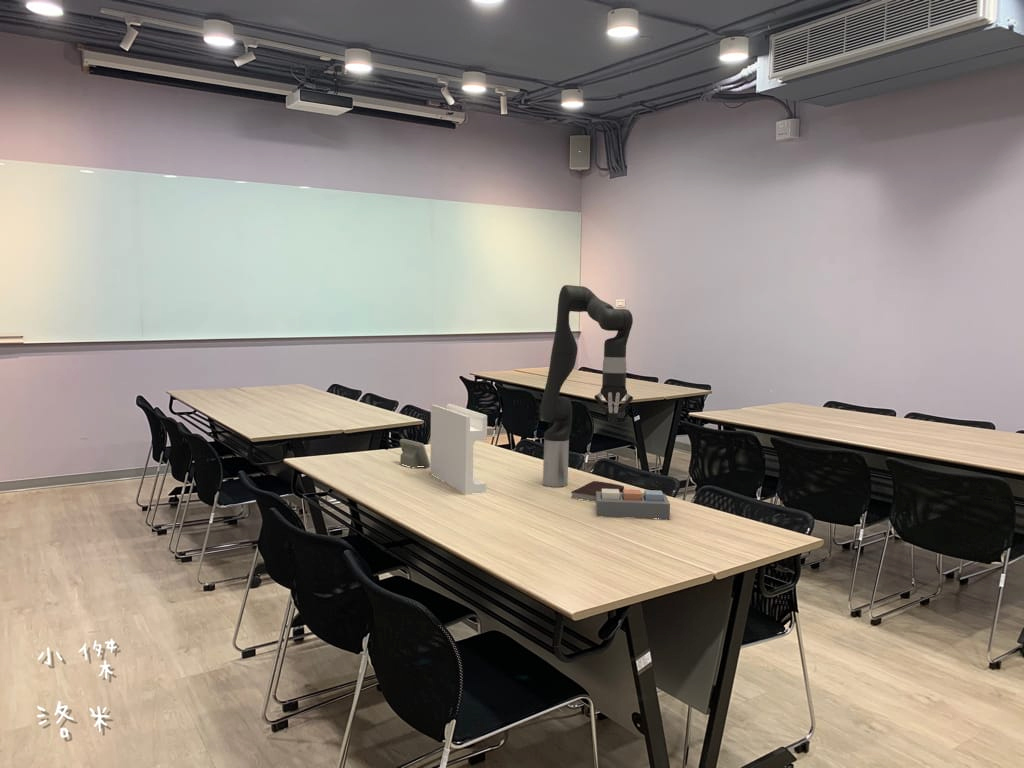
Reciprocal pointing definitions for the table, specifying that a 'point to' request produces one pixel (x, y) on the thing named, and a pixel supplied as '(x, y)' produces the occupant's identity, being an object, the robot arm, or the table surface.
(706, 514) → the table surface
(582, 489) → the book
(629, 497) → the key terracotta
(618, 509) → the console
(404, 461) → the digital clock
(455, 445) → the block
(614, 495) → the key white
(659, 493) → the key blue
